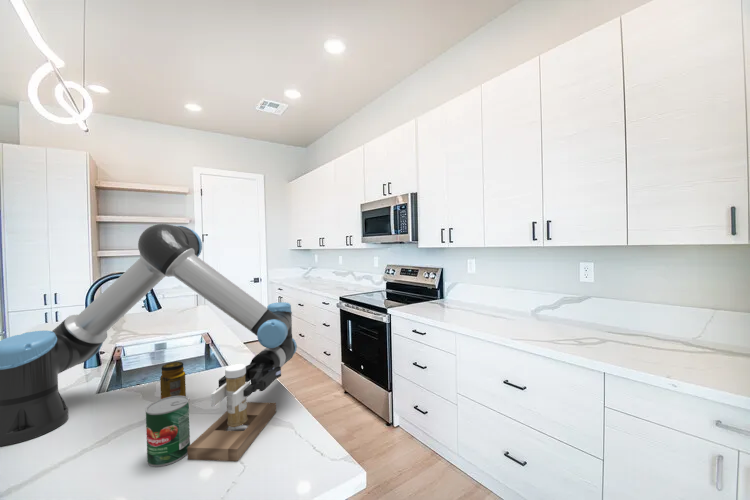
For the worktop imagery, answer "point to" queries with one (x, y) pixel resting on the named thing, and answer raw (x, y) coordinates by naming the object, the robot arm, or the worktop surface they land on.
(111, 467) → the worktop surface
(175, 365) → the condiment
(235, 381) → the sprinkles bottle
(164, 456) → the canned tomato
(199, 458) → the hole board
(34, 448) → the worktop surface
